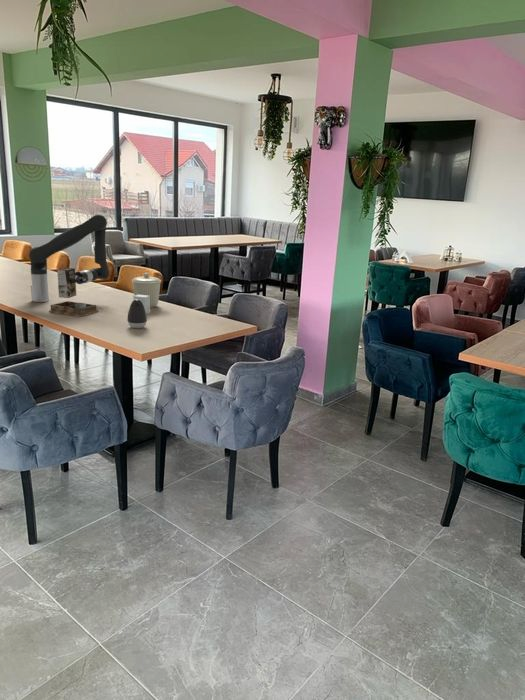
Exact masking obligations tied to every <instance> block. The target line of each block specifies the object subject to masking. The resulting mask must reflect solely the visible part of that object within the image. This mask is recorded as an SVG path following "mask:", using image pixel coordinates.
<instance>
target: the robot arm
mask: <svg viewBox="0 0 525 700" xmlns="http://www.w3.org/2000/svg"><path fill="white" fill-rule="evenodd" d="M107 225H108V220H107V218H106V217H105V216H104V215H102V214H97V213H96V214H94V215H93V216H92V217H90V218H89V219H87V220H85V222H83V223H81V224H78V225H76V226H74V227H71V228H68V229H67V230H65V231H63V232H61V233H59V234H58V235H56V236H55V237H53V238H52V239H51V240H50V241H48V242H46V243H44V244H42V245H39V246H34V247H32V248H31V249H30V251H29V253H28V257H29V260H30V276H31V285H30V292H31V293H30V294H31V301H32V302H35V303H45V302H46V303H47V302H49V301H50V296H49V281H48V262H47V259H48V258H50V257H51V256H53V255H54V254H57V253H59V252H62V251H64V250H66V249H68V248H71V247H72V246H74V245H76V244H77V243H79V242H81V241H82V240H83V239H84V238H86V237H87V236H89V235H90V234H92V233H93V234H94V264H97V265H99V267H94V268H91V269H87V270H86V269H85V270H78V271H75V279H70V280H69V283H76V285H83V284H87V283H89V282H95V281H97V280H108V278H109V277H110V268H109V266H108V262H107V248H106V247H107V246H106V232H107V231H106V230H107Z"/></svg>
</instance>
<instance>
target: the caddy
mask: <svg viewBox="0 0 525 700" xmlns="http://www.w3.org/2000/svg"><path fill="white" fill-rule="evenodd" d="M48 312H49V313H52V312H54V313H53V314H59V313H60V315H65V314H66V315H65V316H72V317H77V316H78V318H81V317H84V315H85V316H88V315H91V313H92V314H94V312H95V313H97V312H99V309H97V305H96V304H91V303H84V302H78V301H72V300H66V301H62V302H58V303H53V304H50V309H49V310H48ZM87 314H88V315H87Z"/></svg>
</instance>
